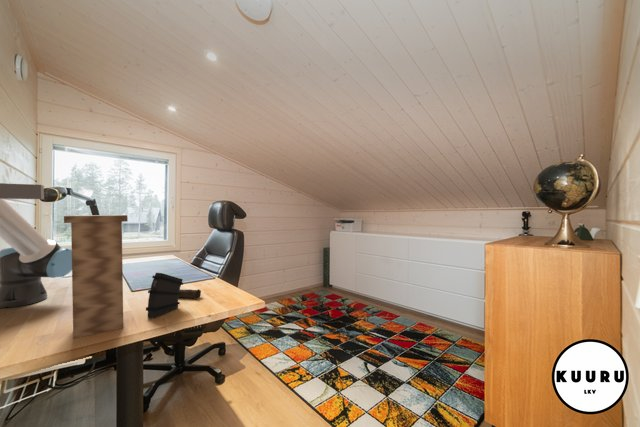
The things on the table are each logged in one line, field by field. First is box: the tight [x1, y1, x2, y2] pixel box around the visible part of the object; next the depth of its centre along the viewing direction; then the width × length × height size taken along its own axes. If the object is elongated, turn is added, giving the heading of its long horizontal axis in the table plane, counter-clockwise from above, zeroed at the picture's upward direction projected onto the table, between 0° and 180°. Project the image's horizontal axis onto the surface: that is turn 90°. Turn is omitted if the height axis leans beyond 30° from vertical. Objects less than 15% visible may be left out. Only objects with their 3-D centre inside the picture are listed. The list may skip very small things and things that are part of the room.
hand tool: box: [178, 288, 202, 300], centre depth 119 cm, size 19×4×5 cm, turn 78°
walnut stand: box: [63, 214, 129, 339], centre depth 88 cm, size 15×10×36 cm, turn 127°
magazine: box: [145, 272, 184, 319], centre depth 101 cm, size 4×13×15 cm, turn 162°
